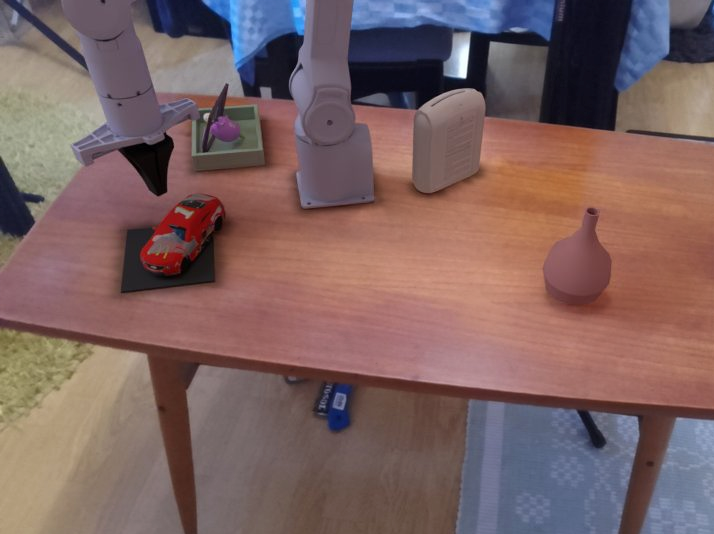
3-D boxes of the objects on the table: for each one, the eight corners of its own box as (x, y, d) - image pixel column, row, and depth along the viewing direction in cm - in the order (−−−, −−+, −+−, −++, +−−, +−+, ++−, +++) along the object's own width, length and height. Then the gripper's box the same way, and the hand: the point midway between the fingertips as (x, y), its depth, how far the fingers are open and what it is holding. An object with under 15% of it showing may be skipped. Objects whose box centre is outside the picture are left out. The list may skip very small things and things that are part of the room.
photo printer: (462, 158, 97) (469, 75, 88) (483, 172, 95) (492, 89, 86) (407, 183, 93) (408, 99, 83) (427, 199, 91) (430, 114, 81)
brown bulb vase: (533, 271, 82) (550, 189, 73) (595, 271, 83) (619, 189, 74) (544, 318, 77) (563, 235, 68) (610, 317, 78) (637, 235, 69)
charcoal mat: (213, 222, 85) (212, 220, 85) (214, 281, 78) (214, 280, 78) (127, 230, 83) (127, 229, 83) (121, 292, 76) (120, 291, 76)
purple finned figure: (220, 80, 94) (202, 114, 88) (258, 94, 96) (242, 128, 90) (213, 120, 99) (196, 155, 93) (249, 133, 100) (234, 168, 94)
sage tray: (260, 118, 101) (257, 104, 100) (265, 165, 94) (262, 150, 92) (195, 123, 100) (191, 108, 98) (195, 171, 92) (191, 155, 90)
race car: (177, 285, 77) (168, 258, 74) (134, 274, 78) (124, 247, 75) (235, 216, 85) (229, 190, 82) (196, 207, 86) (188, 180, 83)
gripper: (79, 125, 67) (121, 232, 78) (204, 76, 75) (227, 180, 85) (44, 98, 70) (89, 205, 80) (167, 54, 78) (194, 157, 88)
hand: (158, 191), depth 83 cm, fingers closed
